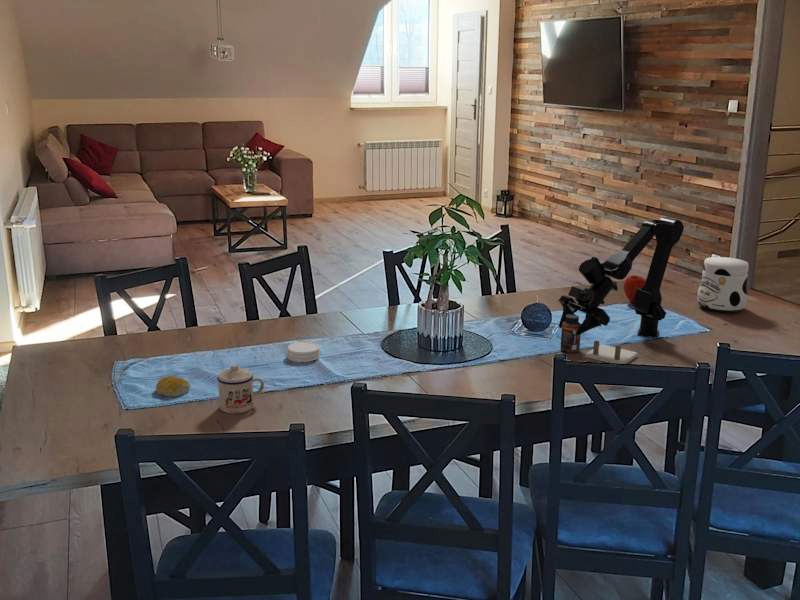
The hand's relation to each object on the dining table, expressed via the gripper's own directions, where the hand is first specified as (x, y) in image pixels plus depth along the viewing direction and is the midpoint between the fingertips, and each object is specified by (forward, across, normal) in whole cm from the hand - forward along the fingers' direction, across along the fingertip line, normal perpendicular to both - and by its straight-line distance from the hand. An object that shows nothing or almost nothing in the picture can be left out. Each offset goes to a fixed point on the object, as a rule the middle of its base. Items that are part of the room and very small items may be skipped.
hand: (567, 330), depth 252 cm
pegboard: (-2, +11, +11) cm, 15 cm away
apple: (-36, -29, +46) cm, 65 cm away
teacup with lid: (+78, -7, -68) cm, 104 cm away
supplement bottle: (+4, 0, +6) cm, 7 cm away
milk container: (-53, -8, +63) cm, 82 cm away
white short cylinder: (+58, -34, -48) cm, 83 cm away
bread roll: (+88, -26, -78) cm, 120 cm away
